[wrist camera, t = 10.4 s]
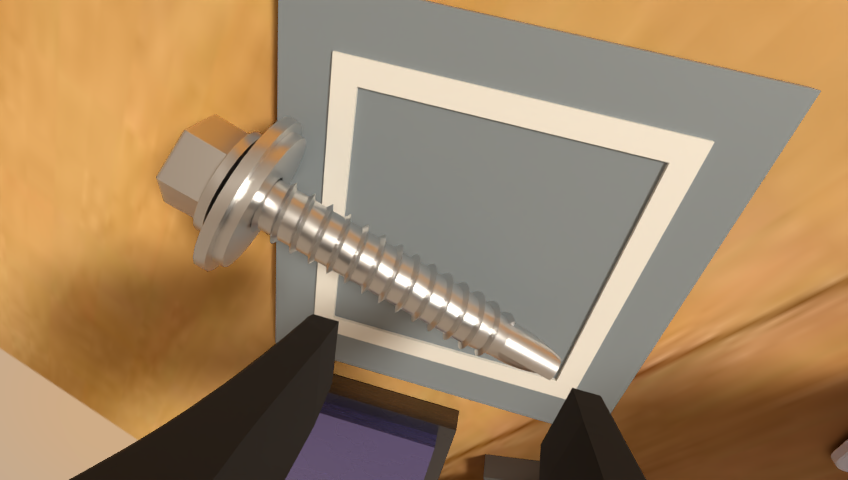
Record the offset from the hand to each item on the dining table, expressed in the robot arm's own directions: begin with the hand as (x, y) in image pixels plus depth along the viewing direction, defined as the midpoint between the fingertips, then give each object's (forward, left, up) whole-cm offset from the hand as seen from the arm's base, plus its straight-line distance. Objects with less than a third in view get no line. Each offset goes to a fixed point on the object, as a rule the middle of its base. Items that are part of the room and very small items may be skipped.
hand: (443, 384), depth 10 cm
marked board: (0, 0, -6) cm, 6 cm away
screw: (+2, 0, -6) cm, 7 cm away
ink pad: (+3, +13, -6) cm, 15 cm away
